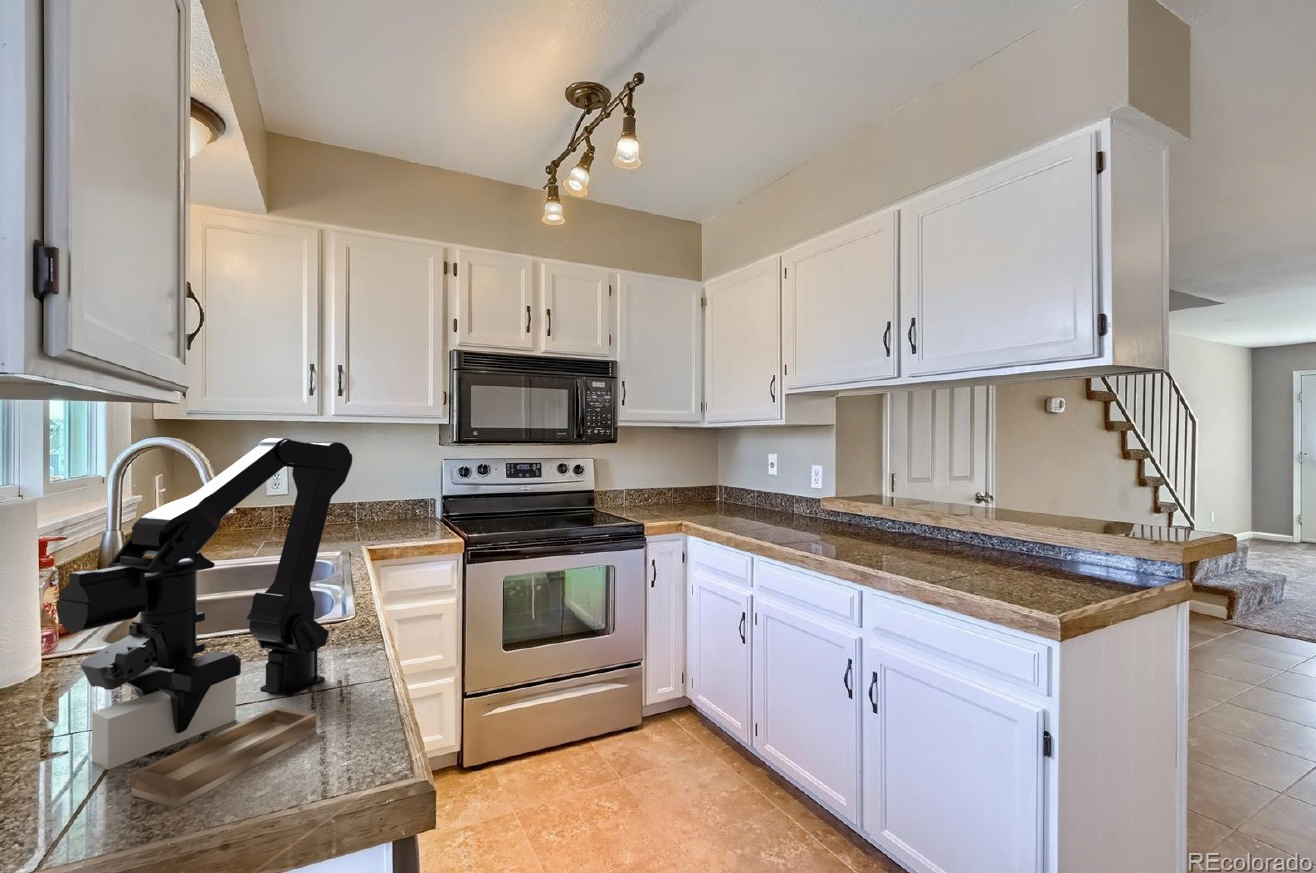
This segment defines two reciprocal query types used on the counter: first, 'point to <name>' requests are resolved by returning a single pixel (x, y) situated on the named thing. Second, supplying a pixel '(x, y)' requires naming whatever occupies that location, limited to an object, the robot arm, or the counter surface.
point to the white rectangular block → (155, 724)
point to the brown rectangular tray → (221, 757)
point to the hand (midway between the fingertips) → (168, 729)
